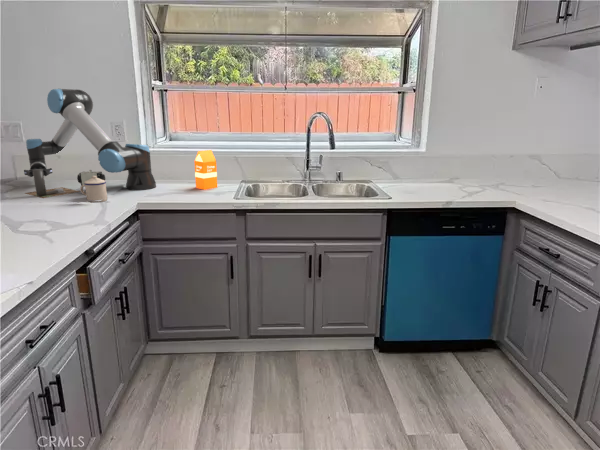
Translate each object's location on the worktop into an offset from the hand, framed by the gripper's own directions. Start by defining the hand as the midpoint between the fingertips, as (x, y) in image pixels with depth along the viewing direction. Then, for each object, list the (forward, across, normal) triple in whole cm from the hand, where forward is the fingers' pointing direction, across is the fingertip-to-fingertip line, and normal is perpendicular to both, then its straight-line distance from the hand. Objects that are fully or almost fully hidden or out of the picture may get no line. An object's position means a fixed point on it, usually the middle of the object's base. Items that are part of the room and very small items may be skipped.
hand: (38, 176), depth 204 cm
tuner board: (+8, -5, -8) cm, 13 cm away
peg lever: (+12, -4, -7) cm, 14 cm away
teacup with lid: (+31, -21, -9) cm, 38 cm away
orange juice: (+25, -77, -9) cm, 82 cm away
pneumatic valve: (+14, -22, -9) cm, 28 cm away
